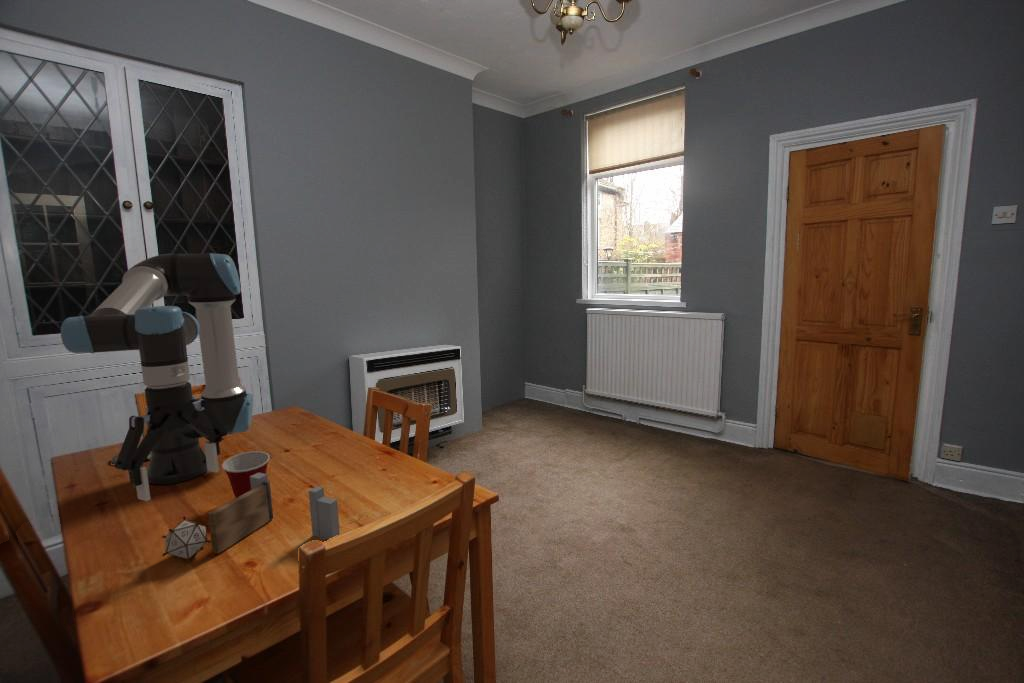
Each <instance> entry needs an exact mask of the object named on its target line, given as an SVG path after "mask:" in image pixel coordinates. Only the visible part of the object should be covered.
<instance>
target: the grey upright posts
mask: <svg viewBox="0 0 1024 683" xmlns="http://www.w3.org/2000/svg"><path fill="white" fill-rule="evenodd" d="M264 481H269V475H268V473H266V474H263V473H257V474H254V475H252V476H250V483H251V490H252V489H254V488H256V487H258V486H260V485H263V482H264ZM308 498H309V510H310V512H309V513H310V521H311V522H310V524H311V533H312V534H311V535H312V537H314V536H317V537H319V538H318V539H323V540H327V539H329V538H332V537H334V536H336V535H339V534H340V533H341V532H340V522H339V508H338V507H339V506H338V499H336V498H331V497H328V496H325V489H324V487H322V486H319V485H317V486H315V487H313V488H311V489H309V490H308ZM317 537H316V538H317Z"/></svg>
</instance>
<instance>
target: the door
mask: <svg viewBox="0 0 1024 683" xmlns="http://www.w3.org/2000/svg"><path fill="white" fill-rule="evenodd" d="M271 489H272V488H271V481H270V480H268V481H264V482H263V485H260V486H258V487H256V488H254V489H252V490H250V491H248V492H247V493H245V494H243V495H241V496H239V497H237V498H236V497H235V498H233V499H232V500H230V501H228V502H227V503H224V504H222V505H221V506H219V507H216V508H215V509H213V510H211V511H210V512H208V513H207V514H208V524H209V532H210V539H211V540H210V541H211V547H212V553H214V554H217V555H218V554H220V553H222V552H224V551H225V550H227V549H228V548H230V547H232V546H233V545H235V544H236V543H238V542H239V541H241V540H242V539H244V538H245V537H247V536H248V535H251V534H252V533H253V532H254V531H257V530H259V528H261V527H263V526H265V525H266V524H267V523H269V522H270V520H273V519H274V512H273V511H274V510H273V503H272V492H271V491H272V490H271Z"/></svg>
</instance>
